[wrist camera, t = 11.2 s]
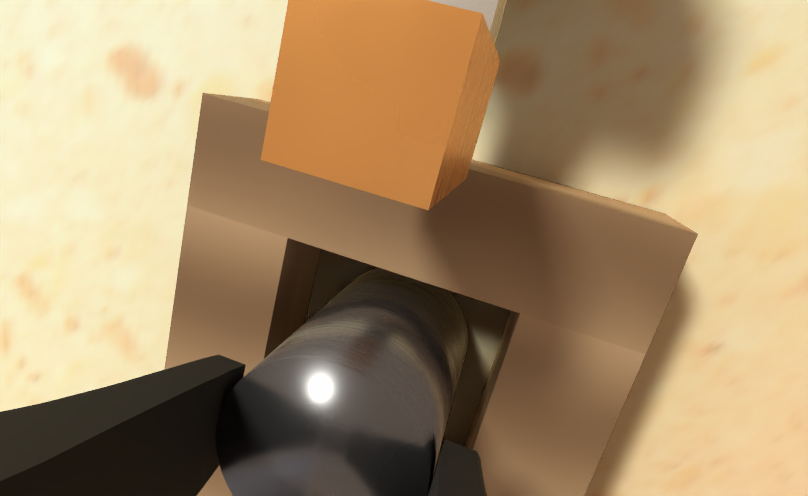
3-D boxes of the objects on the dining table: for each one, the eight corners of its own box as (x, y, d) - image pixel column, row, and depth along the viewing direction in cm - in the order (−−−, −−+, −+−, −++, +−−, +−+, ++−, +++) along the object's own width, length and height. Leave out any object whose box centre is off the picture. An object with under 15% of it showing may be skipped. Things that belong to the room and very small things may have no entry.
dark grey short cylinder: (434, 418, 15) (377, 596, 9) (315, 358, 16) (192, 492, 10) (491, 304, 14) (467, 427, 8) (360, 242, 14) (251, 318, 9)
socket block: (522, 559, 15) (522, 638, 13) (201, 430, 17) (149, 478, 15) (664, 213, 12) (697, 234, 10) (257, 99, 14) (202, 93, 12)
